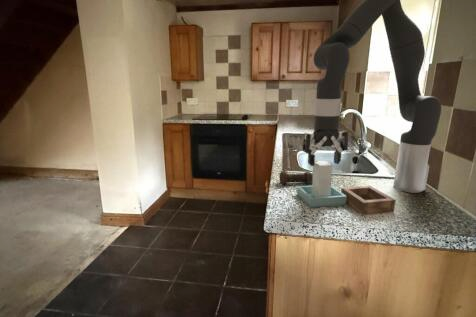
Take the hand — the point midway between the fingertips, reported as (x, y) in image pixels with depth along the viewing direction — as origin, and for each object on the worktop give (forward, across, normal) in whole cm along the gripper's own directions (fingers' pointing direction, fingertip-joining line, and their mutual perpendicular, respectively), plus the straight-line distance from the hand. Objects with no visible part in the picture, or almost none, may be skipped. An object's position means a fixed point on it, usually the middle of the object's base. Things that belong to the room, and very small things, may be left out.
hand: (324, 164), depth 90 cm
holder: (+12, -12, +7) cm, 18 cm away
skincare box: (+12, 0, 0) cm, 12 cm away
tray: (+12, 0, 0) cm, 12 cm away
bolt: (+13, +1, -16) cm, 20 cm away
